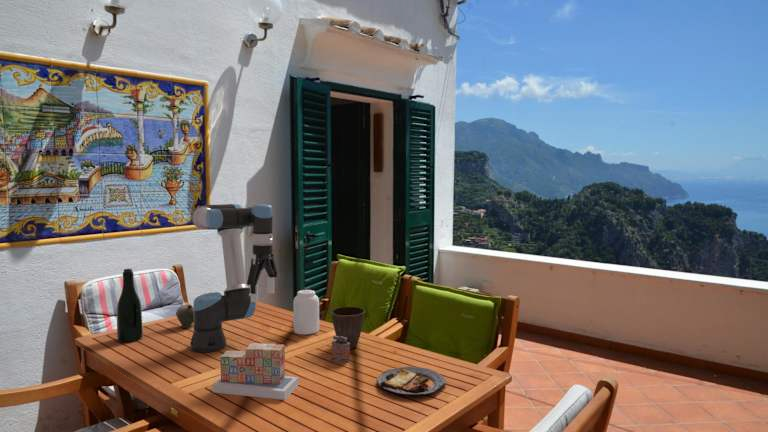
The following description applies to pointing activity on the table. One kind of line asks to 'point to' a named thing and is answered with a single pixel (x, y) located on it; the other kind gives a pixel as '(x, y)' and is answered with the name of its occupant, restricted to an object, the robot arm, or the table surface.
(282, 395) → the base board
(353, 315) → the plant pot
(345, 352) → the lighter
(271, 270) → the robot arm
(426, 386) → the food plate
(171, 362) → the table surface
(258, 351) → the stack of blocks
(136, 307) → the beer bottle
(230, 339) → the table surface
